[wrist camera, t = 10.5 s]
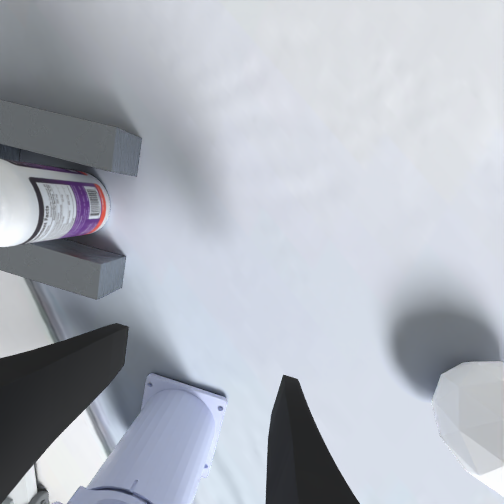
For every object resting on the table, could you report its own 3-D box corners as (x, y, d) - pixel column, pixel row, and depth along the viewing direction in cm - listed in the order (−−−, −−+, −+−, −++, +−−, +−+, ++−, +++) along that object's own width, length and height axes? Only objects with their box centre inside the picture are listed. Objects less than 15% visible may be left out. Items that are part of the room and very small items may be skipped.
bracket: (121, 287, 23) (95, 300, 19) (-11, 247, 24) (-56, 254, 21) (141, 138, 20) (114, 126, 17) (-10, 102, 21) (-62, 84, 18)
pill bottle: (46, 206, 22) (-134, 207, 13) (76, 157, 21) (-99, 119, 11) (92, 246, 22) (-53, 278, 13) (124, 201, 21) (-11, 198, 12)
